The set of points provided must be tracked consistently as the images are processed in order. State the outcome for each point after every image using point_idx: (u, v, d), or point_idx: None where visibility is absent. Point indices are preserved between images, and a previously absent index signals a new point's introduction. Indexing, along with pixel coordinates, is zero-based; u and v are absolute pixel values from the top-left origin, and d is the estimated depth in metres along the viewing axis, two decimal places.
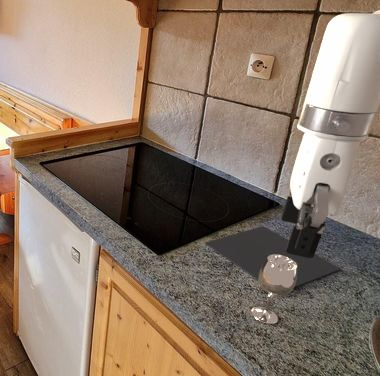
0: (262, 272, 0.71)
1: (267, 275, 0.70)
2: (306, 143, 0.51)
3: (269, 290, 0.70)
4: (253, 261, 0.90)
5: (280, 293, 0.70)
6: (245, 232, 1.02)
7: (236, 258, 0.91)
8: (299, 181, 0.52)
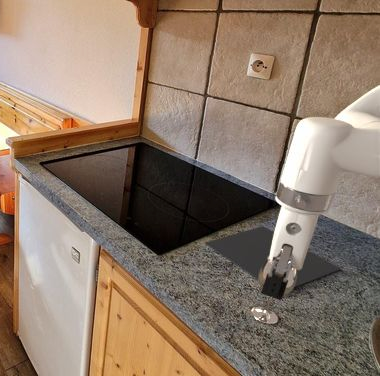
0: (262, 272, 0.71)
1: None
2: (280, 211, 0.66)
3: None
4: (253, 261, 0.90)
5: None
6: (245, 232, 1.02)
7: (236, 258, 0.91)
8: (273, 240, 0.67)
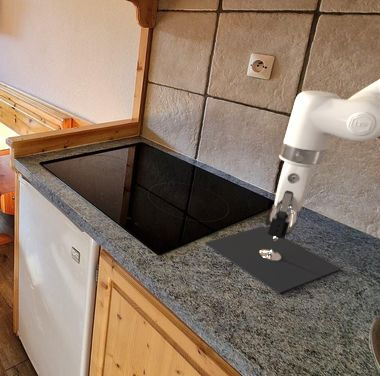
0: (268, 217, 0.89)
1: None
2: (283, 166, 0.84)
3: None
4: (253, 261, 0.90)
5: None
6: (245, 232, 1.02)
7: (236, 258, 0.91)
8: (277, 189, 0.84)
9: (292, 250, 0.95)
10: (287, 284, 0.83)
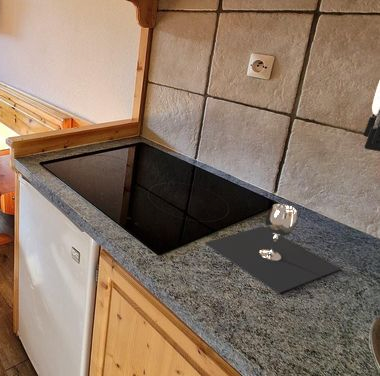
0: (268, 217, 0.89)
1: (272, 219, 0.88)
2: None
3: (274, 231, 0.88)
4: (253, 261, 0.90)
5: (283, 233, 0.87)
6: (245, 232, 1.02)
7: (236, 258, 0.91)
8: (378, 95, 0.74)
9: (292, 250, 0.95)
10: (287, 284, 0.83)
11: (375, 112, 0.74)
